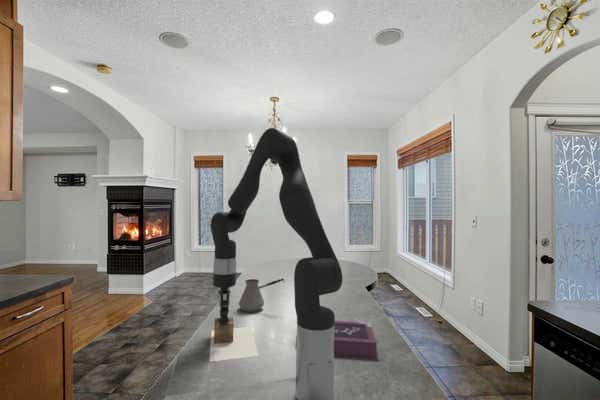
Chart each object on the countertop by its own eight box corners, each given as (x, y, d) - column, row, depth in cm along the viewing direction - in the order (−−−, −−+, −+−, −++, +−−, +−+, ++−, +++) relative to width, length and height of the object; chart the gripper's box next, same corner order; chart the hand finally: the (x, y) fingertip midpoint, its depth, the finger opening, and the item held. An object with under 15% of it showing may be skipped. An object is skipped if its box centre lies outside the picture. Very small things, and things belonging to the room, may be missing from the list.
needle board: (258, 361, 84) (259, 327, 84) (209, 367, 80) (210, 331, 80) (250, 330, 105) (251, 303, 105) (211, 334, 101) (212, 306, 101)
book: (369, 336, 103) (370, 322, 103) (376, 359, 87) (376, 342, 87) (301, 331, 106) (301, 318, 106) (295, 352, 90) (295, 336, 90)
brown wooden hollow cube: (233, 342, 92) (233, 323, 93) (213, 344, 91) (214, 325, 91) (232, 334, 98) (232, 316, 98) (214, 336, 96) (214, 318, 97)
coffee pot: (233, 312, 124) (234, 277, 125) (245, 304, 135) (246, 272, 136) (279, 317, 119) (280, 281, 119) (287, 308, 130) (288, 275, 131)
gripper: (237, 275, 90) (236, 327, 89) (234, 267, 103) (233, 312, 102) (212, 276, 87) (211, 329, 87) (213, 267, 101) (212, 314, 100)
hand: (223, 320), depth 94 cm, fingers open, 8 cm apart
